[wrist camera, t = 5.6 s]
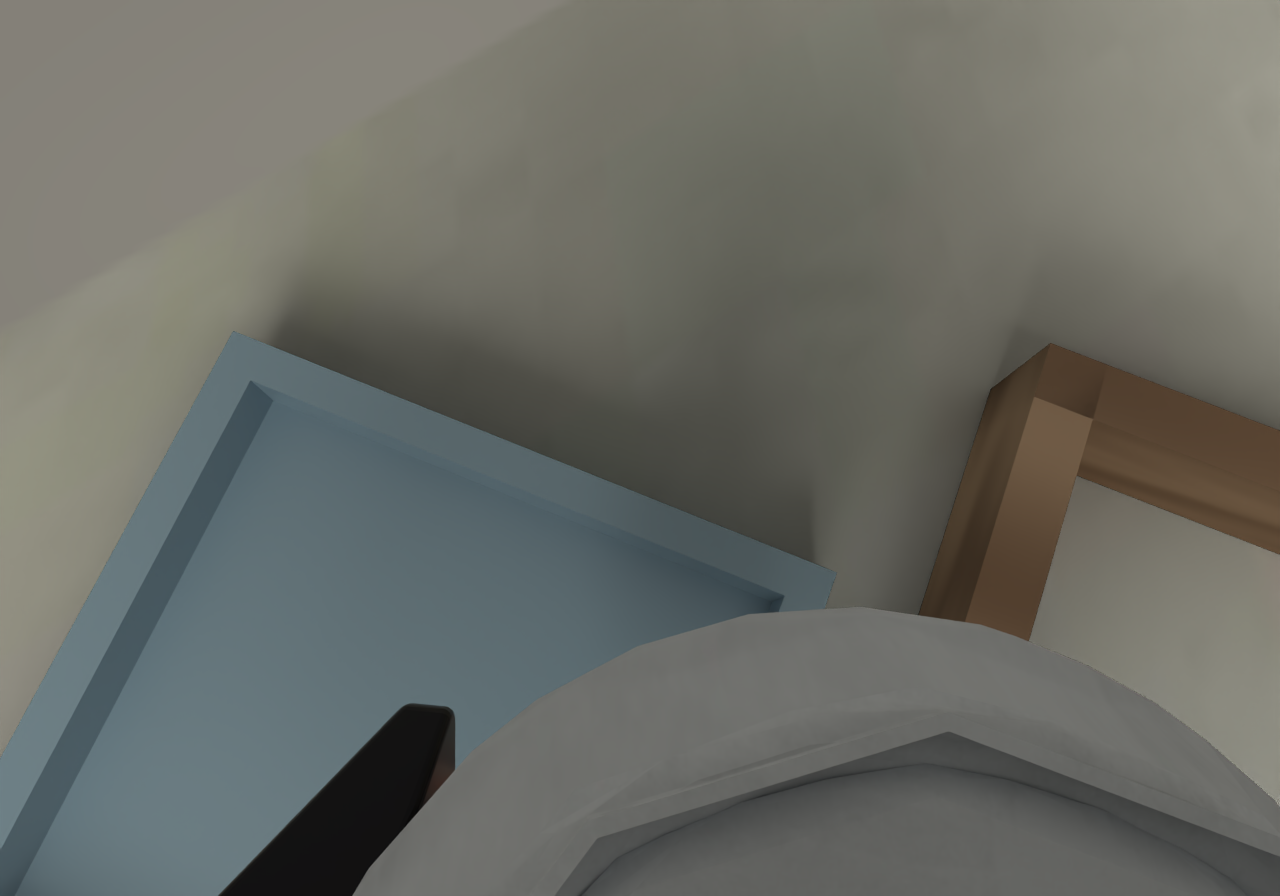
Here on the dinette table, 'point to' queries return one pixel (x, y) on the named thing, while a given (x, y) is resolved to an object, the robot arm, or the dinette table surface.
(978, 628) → the beer can
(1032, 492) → the frame
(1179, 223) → the dinette table surface
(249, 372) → the tray
